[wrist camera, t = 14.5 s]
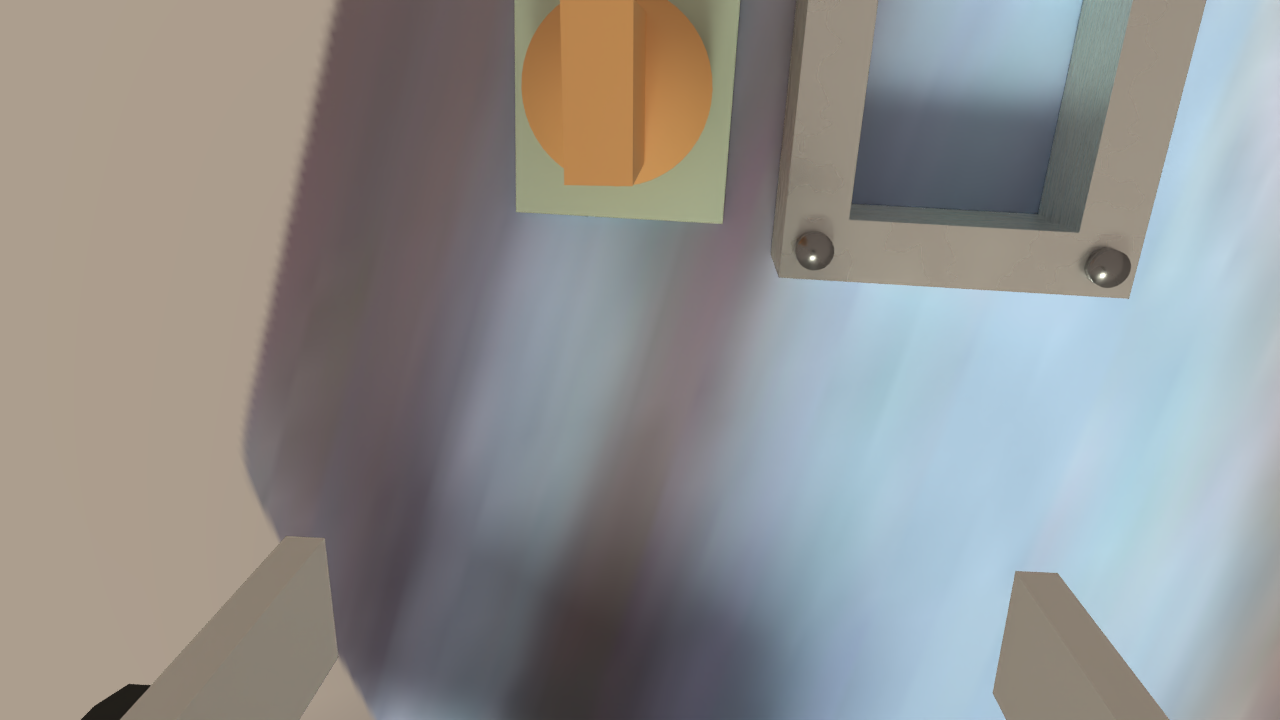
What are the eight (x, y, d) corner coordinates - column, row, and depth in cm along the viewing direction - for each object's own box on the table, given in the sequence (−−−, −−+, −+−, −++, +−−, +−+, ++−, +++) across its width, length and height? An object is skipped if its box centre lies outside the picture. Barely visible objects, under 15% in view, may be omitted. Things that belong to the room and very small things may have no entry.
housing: (1083, 273, 40) (1135, 302, 35) (770, 254, 40) (780, 280, 36) (1166, -76, 34) (1241, -98, 30) (805, -90, 35) (822, -113, 30)
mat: (722, 221, 40) (722, 223, 39) (518, 209, 40) (516, 211, 40) (743, -53, 36) (744, -55, 35) (516, -62, 36) (513, -65, 36)
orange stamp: (707, 177, 39) (712, 216, 29) (539, 174, 39) (486, 212, 29) (714, -9, 36) (721, -36, 26) (533, -10, 36) (473, -36, 27)
